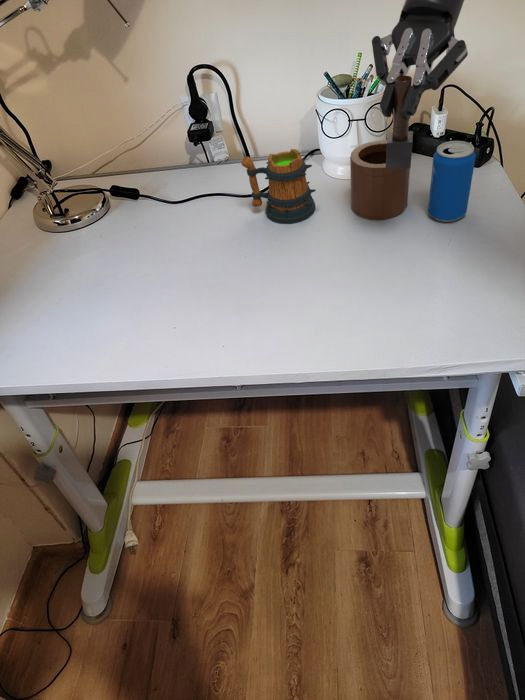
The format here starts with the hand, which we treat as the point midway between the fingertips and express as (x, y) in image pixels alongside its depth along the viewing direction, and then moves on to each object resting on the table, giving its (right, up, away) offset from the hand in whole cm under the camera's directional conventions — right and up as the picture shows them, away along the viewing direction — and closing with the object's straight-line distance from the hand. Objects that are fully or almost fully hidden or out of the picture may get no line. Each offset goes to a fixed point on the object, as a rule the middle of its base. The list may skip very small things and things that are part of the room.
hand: (395, 115), depth 70 cm
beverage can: (+14, -8, +20) cm, 26 cm away
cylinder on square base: (+2, -4, +7) cm, 8 cm away
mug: (-14, -6, +28) cm, 32 cm away
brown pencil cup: (+3, -5, +25) cm, 26 cm away
